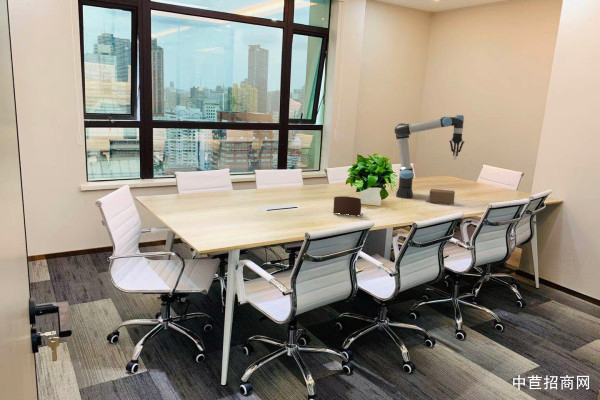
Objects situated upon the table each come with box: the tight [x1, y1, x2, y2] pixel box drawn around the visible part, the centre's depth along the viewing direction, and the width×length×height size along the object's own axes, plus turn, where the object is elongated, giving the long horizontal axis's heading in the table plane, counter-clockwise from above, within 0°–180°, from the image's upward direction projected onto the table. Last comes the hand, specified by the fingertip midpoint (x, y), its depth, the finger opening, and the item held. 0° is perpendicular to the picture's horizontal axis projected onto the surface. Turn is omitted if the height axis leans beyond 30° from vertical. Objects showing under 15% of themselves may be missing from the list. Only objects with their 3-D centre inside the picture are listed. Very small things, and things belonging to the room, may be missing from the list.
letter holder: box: [332, 195, 362, 216], centre depth 344 cm, size 10×20×14 cm, turn 78°
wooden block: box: [428, 188, 456, 205], centre depth 391 cm, size 10×10×20 cm
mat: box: [425, 198, 451, 206], centre depth 397 cm, size 20×16×1 cm
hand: (454, 159), depth 409 cm, fingers closed
